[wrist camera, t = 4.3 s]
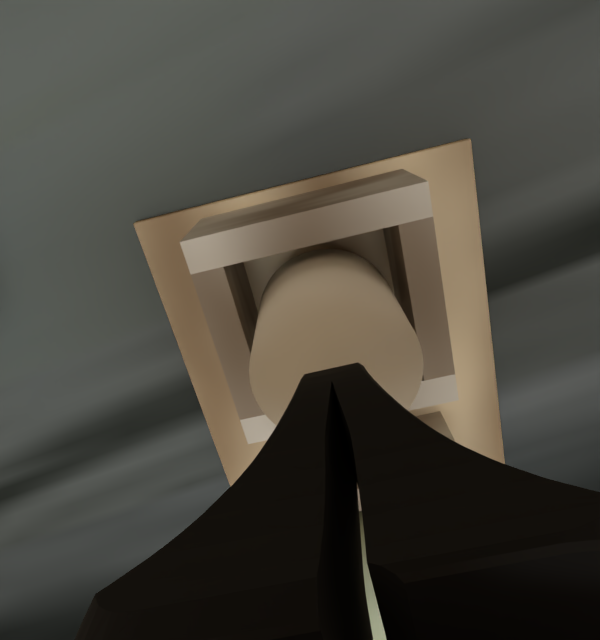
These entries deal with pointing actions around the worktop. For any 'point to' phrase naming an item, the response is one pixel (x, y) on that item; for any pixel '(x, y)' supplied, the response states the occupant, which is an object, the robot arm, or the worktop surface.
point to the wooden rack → (349, 235)
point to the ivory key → (330, 329)
